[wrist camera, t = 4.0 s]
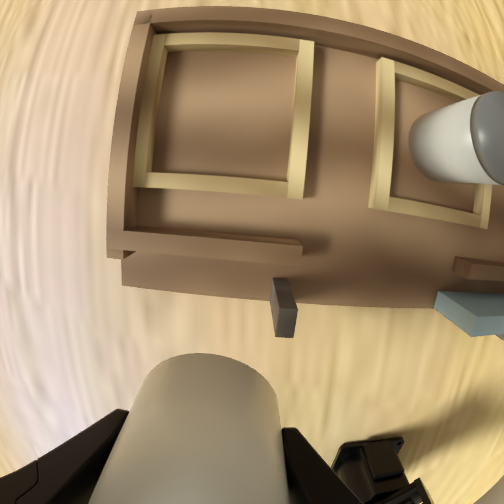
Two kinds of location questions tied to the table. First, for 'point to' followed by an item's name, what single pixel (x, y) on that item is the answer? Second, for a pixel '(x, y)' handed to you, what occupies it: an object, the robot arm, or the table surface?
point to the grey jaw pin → (198, 438)
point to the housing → (291, 165)
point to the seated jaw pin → (461, 141)
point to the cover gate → (473, 311)
